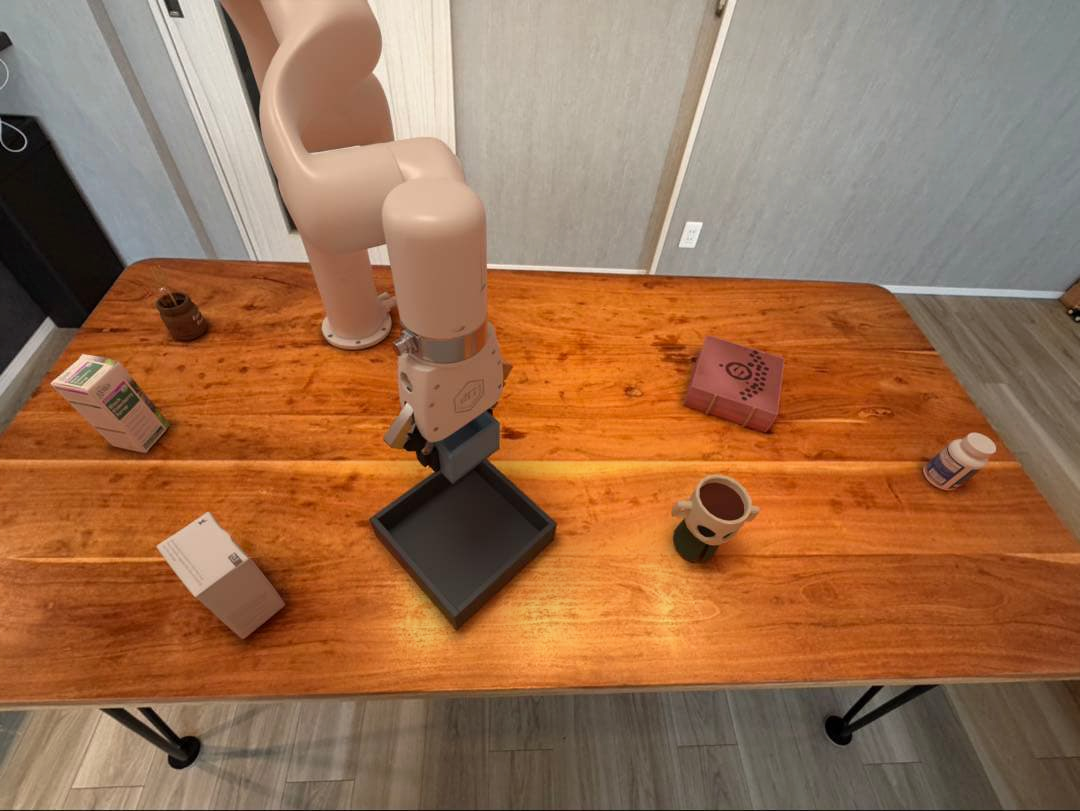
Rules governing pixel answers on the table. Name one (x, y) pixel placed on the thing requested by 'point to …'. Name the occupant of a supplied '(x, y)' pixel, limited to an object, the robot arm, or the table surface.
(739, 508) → the character mug
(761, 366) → the book
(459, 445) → the small bin
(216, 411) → the table surface
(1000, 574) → the table surface
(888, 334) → the table surface
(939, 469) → the pill bottle
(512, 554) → the large bin
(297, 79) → the robot arm
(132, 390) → the syrup box
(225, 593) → the cosmetic box
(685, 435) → the table surface
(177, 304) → the utensil holder
